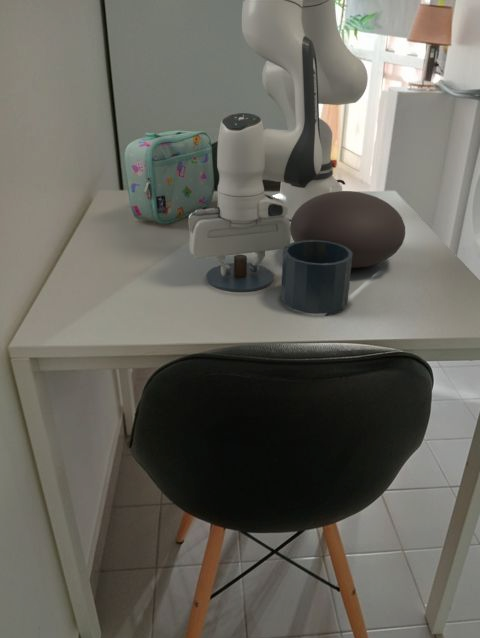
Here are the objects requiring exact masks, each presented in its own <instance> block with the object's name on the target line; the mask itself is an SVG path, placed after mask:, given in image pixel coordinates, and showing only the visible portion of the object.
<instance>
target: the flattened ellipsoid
mask: <svg viewBox="0 0 480 638" xmlns="http://www.w3.org/2000/svg"><path fill="white" fill-rule="evenodd" d="M290 233H291V238H292V240H293V243H294V242H298V241H304V240H321V241H329V242H334V243H338V244H341V245H343V246H345V247H348V248H349V249H350V250H351V251H352V252H353V255H352V265H351V269H360V268H366V267H371V266H375V265H378V264H380V263H383V262H384V261H387V260H388V259H389V258H391V257H392V256H393V255H395V254H396V253H397V252H398V251H399V250H400V248H401V247H402V245H403V243H404V241H405V237H406V225H405V222H404V219H403V217H402V216H401V214H400V213H399V212H398V210H396V208H395V207H393V206H392V205H391V204H390V203H389V202H387V201H385V200H383V199H381V198H379V197H377V196H375V195H371V194H368V193H364V192H360V191H352V190H342V191H338V192H330V193H325V194H322V195H319V196H316V197H314V198H312V199H310V200H308V201H307V202H305V203H304V204H302V205H301V206H300V207H299V208H298V209H297V211H296V212H295V214H294V215H293V217H292V220H290Z"/></svg>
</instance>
